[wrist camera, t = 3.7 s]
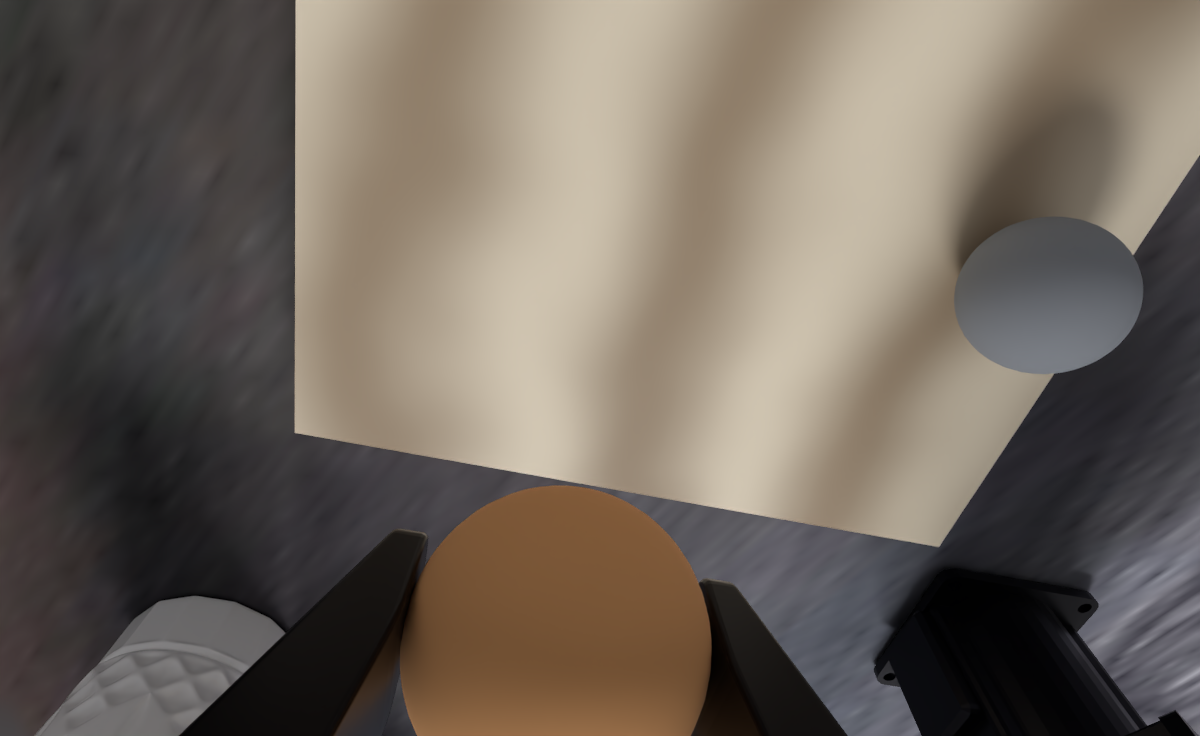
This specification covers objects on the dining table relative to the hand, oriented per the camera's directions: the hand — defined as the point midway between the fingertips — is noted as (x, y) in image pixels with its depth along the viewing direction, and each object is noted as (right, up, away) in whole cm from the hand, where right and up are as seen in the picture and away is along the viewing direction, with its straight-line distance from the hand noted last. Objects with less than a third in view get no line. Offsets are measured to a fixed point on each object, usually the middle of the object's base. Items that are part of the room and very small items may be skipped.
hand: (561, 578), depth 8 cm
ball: (0, 0, -1) cm, 1 cm away
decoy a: (+10, +4, +6) cm, 13 cm away
